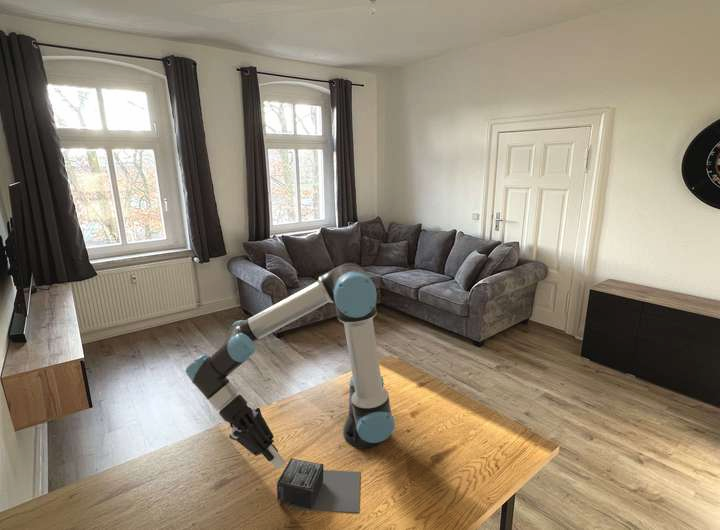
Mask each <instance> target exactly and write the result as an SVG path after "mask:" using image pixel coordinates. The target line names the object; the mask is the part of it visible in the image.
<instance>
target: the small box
mask: <svg viewBox="0 0 720 530" xmlns="http://www.w3.org/2000/svg"><path fill="white" fill-rule="evenodd" d="M323 470H324V463H318V462H312V461H308V460H307V461H305V460H301V459H296V458H290V459H289V460H288V462H287V465H286V467H285V468H284V470H283V471H282V473H281V475H280V477H279V479H278V480H277V482H276V490H277V492H276V494H277V495H276V499H277V502H281V503H286V504H290V505H291V504H294V505H299V506H304V507H309V508H312V507H313V504H314V502H315V500H316V497H317V495H318V492H319V490H320V488H321V485H322V483H323Z"/></svg>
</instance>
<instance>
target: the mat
mask: <svg viewBox="0 0 720 530" xmlns="http://www.w3.org/2000/svg"><path fill="white" fill-rule="evenodd" d="M360 485H361V471H350V470H348V471H347V470H334V469H333V470H331V469H323V483H322V485H321V488H320V490H319V492H318V495H317V497H316V500H315V502H314V504H313V507H312V508H309V507H304V506H299V505H294V504H290V508H289V510H291V511H292V510H293V511H294V510H295V511H311V512H312V511H313V512H328V513H329V512H330V513H348V514H359V513H360V494H361V493H360V488H361V486H360Z"/></svg>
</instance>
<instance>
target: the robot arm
mask: <svg viewBox="0 0 720 530" xmlns="http://www.w3.org/2000/svg"><path fill="white" fill-rule="evenodd" d="M377 295H378V294H377V289H376V285H375V283H374V281H373V280H372V278H370V277H369V275H368V273H367V272H366V271H365V269H364V268H362V266H360V265H358V264H356V263H343V264H341V265H339V266H337V267H334V268H333V269H331V270H329V271H327V272H325V273H324V274H322V275H320V276H319V277H318V280H317V281H316V282H314V283H311V284H310V285H309V286H308V285H307V286H306V287H304V288H302V289H301V290H299V291H297V292H295V293H293V294H291V295H290V296H287V297H286V298H284V299H282V300H281V301H279V302H277V303H274V304H273V305H270V307H268V308H266V309H265V308H264V309H263V310H262V311H260V312H258V313H257V314H255V315H252V316H250V317H249V318H247V319H245V320H243V319H241V320H237V321H235V322H234V323H233V324H231V326H230V328H229V329H228V331H227V335H226V336H225V338H224V341H223V343H222V344H221V345H222V346H221V347H220V348H218V350H216V351H215V352H214V353H213V354H212V355H211V356H209V354H207V353H204V354H201V355H200V356H198V357H197V358H196V359H195V360H193V361H191V363H190V364H189V365H187V366H186V368H185V373H186V376H187V377H188V378H189V380H191V382H192V384H193V385H194V386H195V387H197V389H198V390H199V391H200V392H201V393H202V395H203V396H204V397H205V398H206V399H207V401H208V402H209V403H210V405H211V406H212V407H213V408H214V410H215V411H218V412H219V413H218V415H219V416H220V417H221V418H222V419H223V420H224V421H225V422H227V423H229V426H230V428H231V429H232V430H231V434H229V439H230V440H233V441H236V442H237V443H239V444H240V445H241V446H242V447H244V448H245V449H246V450H247V451H248V452H250V453H252V455H254V456H255V457H257V456H260V455H261V454H262V456H263V457H264V458H265V459H266V461H268V462H270V463H271V464H272V465H273V466H274V468H275V469H276V470H279V469H281V468H282V467H284V466H285V464H286V462H287V461H286V460H285V459H284V458H283V456H282V455H280V453H279V450H278V449H277V447H276V446H275V445H274V444H273V443H274V436H275V435H274V434H273V432H272V431H271V429H270V427H269V426H268V423H267V422H266V420H265V419H264V417H263V415H262V411H261V408H260V407H257V408H255V409H252V407H249V406H248V401H247V400H246V399H245V398H244V397H243V395H242V394H238V393H239V391H238V389H237V388H236V387H235V386H234V384H233V383H232V382H231V381H230V380H229V379H228V377H229V376H230V375H231V374H233V372H234V371H235V370H237V369H238V368H239V367H241V366H242V364H243V363H245V362H246V361H248V360H249V358H250V357H252V355H254V354H255V351H256V346H255V344H254V343H255V342H257V341H259V340H260V339H262V338H264V337H266V336H268V335H270V334H272V333H274V332H275V331H277V330H279V329H282V328H283V327H285V326H286V325H289V324H291V323H292V322H294V321H297V320H298V319H300V318H301V317H304V316H305V315H308V314H309V313H311V312H313V311H314V310H316V309H319V308H320V307H323V306H324V305H326V304H327V303H330V304H335V311H336V314H337V315H336V316H337V320H338V321H339V322H341V323H342V324H343V325H344V327H343V328H344V332H345V333H344V334H345V338H346V344H347V349H348V357H349V363H350V369H351V373H352V375H351V376H350V379H349V398H348V399H349V402H348V415H347V418H346V420H345V422H344V425H343V431H342V436H343V439H344V440H345V442H346V443H348V444H349V445H351V446H352V447H355V448H358V449H373V448H376V447H378V446H380V445H382V444H383V442H384V441H386V440H387V439H388V438H389V437H390V436H391V435H392V434H393V432H394V431H395V427H396V424H395V417H394V415H392V409H391V404H390V403H391V402H390V397H389V392H388V390H387V389H386V388H385V387H384V385H385V382H384V377H383V376H382V375H381V367H380V360H379V356H378V353H379V352H378V347H377V340H376V334H375V333H376V332H375V327H374V326H375V325H374V320H373V319H374V318H375V317H376V315H377V314H378V313H377V311H378V310H377V304H376V301H377Z"/></svg>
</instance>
